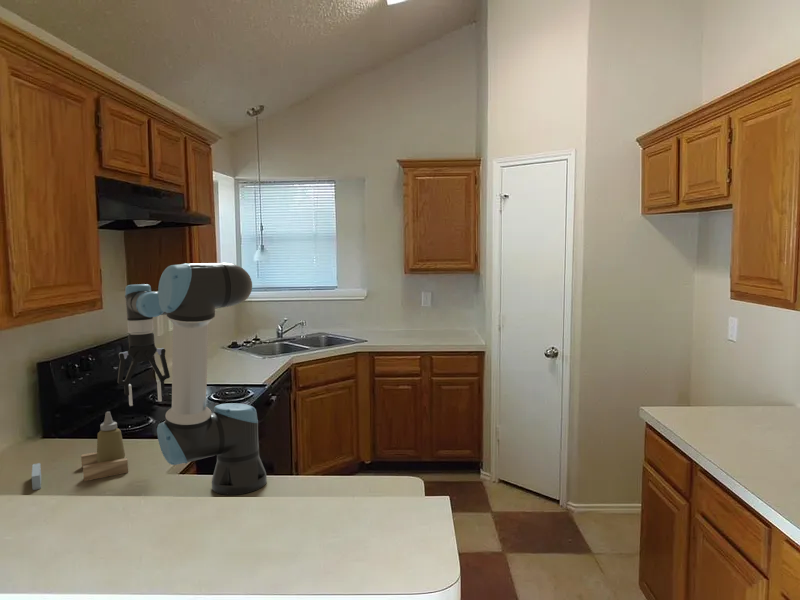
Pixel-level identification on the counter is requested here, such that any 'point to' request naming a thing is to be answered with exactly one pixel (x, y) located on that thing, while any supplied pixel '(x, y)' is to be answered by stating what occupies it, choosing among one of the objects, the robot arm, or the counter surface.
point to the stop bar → (36, 476)
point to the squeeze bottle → (109, 441)
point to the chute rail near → (105, 469)
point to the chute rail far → (89, 459)
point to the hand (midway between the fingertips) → (145, 402)
